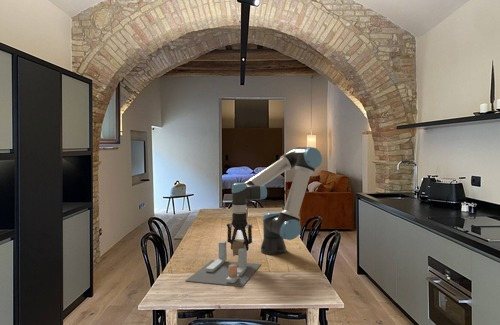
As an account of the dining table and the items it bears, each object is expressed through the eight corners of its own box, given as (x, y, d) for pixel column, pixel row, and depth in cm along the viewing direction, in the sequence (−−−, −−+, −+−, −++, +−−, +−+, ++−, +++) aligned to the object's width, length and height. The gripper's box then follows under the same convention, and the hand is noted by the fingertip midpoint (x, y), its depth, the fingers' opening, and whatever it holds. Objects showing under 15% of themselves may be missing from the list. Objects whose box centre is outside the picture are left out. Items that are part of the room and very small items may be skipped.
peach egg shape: (230, 274, 176) (230, 263, 176) (238, 275, 175) (238, 264, 175) (227, 277, 172) (227, 266, 172) (235, 277, 171) (235, 267, 171)
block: (236, 252, 200) (236, 239, 199) (246, 252, 198) (246, 239, 198) (233, 254, 194) (233, 241, 194) (243, 255, 193) (243, 242, 193)
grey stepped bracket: (220, 259, 205) (220, 240, 204) (227, 259, 204) (227, 241, 203) (205, 271, 185) (205, 251, 185) (213, 272, 184) (212, 251, 184)
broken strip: (239, 268, 190) (239, 248, 189) (247, 268, 189) (247, 248, 188) (225, 282, 170) (225, 260, 170) (234, 283, 169) (233, 260, 168)
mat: (211, 260, 205) (211, 260, 205) (261, 264, 197) (261, 264, 197) (185, 281, 174) (185, 280, 174) (242, 286, 166) (242, 286, 166)
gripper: (220, 212, 195) (220, 256, 195) (254, 214, 189) (254, 259, 190) (225, 210, 202) (225, 252, 203) (258, 211, 196) (258, 255, 197)
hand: (239, 256), depth 196 cm, fingers closed on block, 5 cm apart
